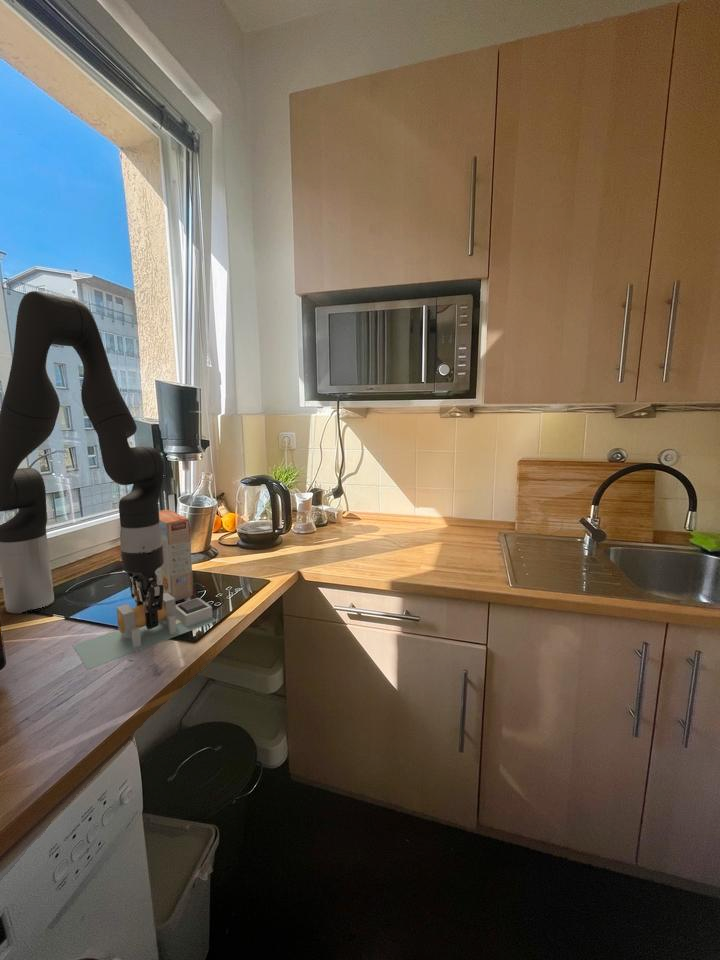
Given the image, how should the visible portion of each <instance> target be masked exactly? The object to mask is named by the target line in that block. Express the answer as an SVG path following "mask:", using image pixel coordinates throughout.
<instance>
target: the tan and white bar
mask: <svg viewBox="0 0 720 960" xmlns="http://www.w3.org/2000/svg"><path fill="white" fill-rule="evenodd" d="M153 605H154V604H153ZM176 605H177V604H176V601H175V598H174V597H172V596H171V595H170V594H168V593H167V592H166V593H163V605H162V609H161V610H157V612H158V621H161V620H163V621H165V622H166V623H167V624H168V617H169V616H172V615H174V616H175V618H176ZM115 609H116V615H117V616H116V617H117V618H116V619H117V628H118V629H117V630H119V631H120V632H121V633H122V635H123V636H124V637H125V638H128V637H130V636H132V630H131V629H134V628H137V627H138V628H141V627H144V626H146V618H145V611H144V604H142V605H139V606H137V605H136V606H132V607H131V606H130V605H129V604H127V603H125V604H124V605H119V606H116V608H115Z"/></svg>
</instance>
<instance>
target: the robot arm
mask: <svg viewBox="0 0 720 960" xmlns="http://www.w3.org/2000/svg"><path fill="white" fill-rule="evenodd" d="M15 323H16V324H15V331H14V332H15V333H14V334H15V335H14V343H13V351H12V352H13V353H12V360H11V364H10V365H11V366H10V371H9V375H8V376H9V377H8V380H7V384H6V389H5V392H4V395H3V399H2V404H1V407H0V408H1V409H0V512H9V511H15V510H18V511H17V513H16V514H15V515H14V516H13V517H12V518H10V519H9V520H7V521H5V522H3V523H2V524H0V576H1V584H2V590H3V599H4V605H5V606H4V607H5V611H6V612H7V613H9V614H23V613H22V612H25V611H27V610H30V609H37V608H41V609H43V608H42V607H44V608H46V607H48V606H49V605H51V604H52V603H54V602H55V594H54V587H53V585H54V584H53V577H52V575H53V574H52V569H51V568H52V567H51V560H50V553H49V552H50V551H49V544H48V536H47V534H48V533H47V523H48V514H47V513H48V512H47V494H46V485H45V481H44V478H43V476H42V474H41V472H39V470H37V469H36V468H34V467H22V468H19V466H20V465H21V464H22V462H23V461H24V460H25V459H26V458H27V457H28V456H29V455H31V454H32V453H33V452H34V451H36V450H37V449H38V448H39V447H40V446H41V445H43V444H44V442H45V441H47V439H48V438H49V437H50V436H51V434H53V431H54V428H55V426H56V424H57V423H56V422H57V420H58V415H59V413H60V406H61V404H60V403H61V402H60V399H59V395H58V392H57V391H56V388H55V387H54V385H53V383H52V381H51V379H50V377H49V375H48V372H47V360H48V359H47V358H48V353H49V350H50V348H51V346H52V345H54V346H64V347H72V348H73V349H74V350H75V352H76V354H77V355H78V357H79V358H80V359H79V360H81V363H82V367H83V378H82V384H81V393H80V395H81V396H80V397H81V402H82V406H83V409H84V411H85V414H86V416H87V417H88V419H89V421H90V423H91V425H92V427H93V429H94V431H95V432H96V435H97V438H98V443H99V450H100V453H101V454H100V455H101V460H102V465H103V469H104V471H105V473H106V475H107V477H109V478H110V479H111V481H113V482H114V483H116V484H118V485H120V486H130V485H132V488H131V491H130V492H128V494H125V495H124V496H122V497H121V498H120V499H119V502H118V514H119V524H120V528H119V529H120V532H119V542H120V554H121V565H122V570H123V571H124V572H125V573H126V574H127V576H128V577H127V578H128V583H129V588H130V594H131V595H130V596H131V598H132V599H134V600H133V602H134V603H135V605H136V606H139V605H142V604H144V611H145V618H146V628H147V629H152V628H154V627H157V626H158V612H157V610H161V609H162V605H163V590H164V587H163V585H158V582H159V581H158V576H157V575H156V573H155V571H156V570H157V569H158V568H160V567H161V566H162V565H163V563H164V559H163V544H162V532H161V527H160V522H159V521H160V520H159V511H160V509H159V501H160V496H161V493H162V486H163V482H164V476H165V463H164V459H163V457H162V455H161V453H160V452H159V451H158V449H156V448H155V447H152V446H149V445H143V446H134V447H130V444H129V440H128V439H129V438H131V437H132V436H134V435H135V434H136V432H137V424H136V421H135V418H134V417H133V415H132V413H131V411H130V410H129V408H128V406H127V404H126V401H125V399H124V398H123V396H122V394H121V392H120V389H119V387H118V386H117V382H116V380H115V378H114V375H113V371H112V368H111V365H110V362H109V359H108V356H107V352H106V349H105V345H104V343H103V340H102V337H101V333H100V330H99V328H98V325H97V322H96V320H95V317H94V315H93V313H92V312H91V310H90V308H89V307H88V306H87V305H86V304H85V303H84V302H83V301H81V300H78V299H76V298H74V297H73V298H72V297H68V296H63V295H59V294H58V295H57V294H53V293H48V292H44V291H40V290H39V291H37V290H32V291H28V292H27V293H25V294H24V295H23V296H22V298H21V300H20V303H19V306H18V311H17V314H16V322H15ZM153 604H154V605H153ZM45 606H46V607H45Z"/></svg>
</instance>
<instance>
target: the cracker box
mask: <svg viewBox="0 0 720 960" xmlns="http://www.w3.org/2000/svg"><path fill="white" fill-rule="evenodd" d="M159 520H160V521H159V522H160V527H161V532H162V544H163V559H164V563H163V565H162V566H161V567H160V568H158V569H157V570H156V571H155V573H156V575H157V576H158V581H159V582H158V585H163V587H164V590H163V593H166V592H167V593H168V594H170V595H171V596H172V597H174V598H175V602H177V601H180V600H181V601H182V600H184V599H188V598H191V597H193V596H194V584H193V582H194V581H193V564H192V542H191V525H190V523H191V522H190V521H191V520H190V519H189V518H187V517H186V516H183V515H180V514H179V513H176V512H174V511H172V510H170V509H162V510H159Z"/></svg>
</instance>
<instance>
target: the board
mask: <svg viewBox="0 0 720 960" xmlns="http://www.w3.org/2000/svg"><path fill="white" fill-rule="evenodd" d="M194 599H198V600H200V601H201V602H202V603H204V604H205V608H203V609H201V610H198V611H195V612H192V613H189V614H186V613H185V612H184V611H183V610H181V609H180V604H182V603H185V602H188V601H191V600H194ZM175 605H176V618H175V616H174V615H172V616H169V617H168V624H167V623H166V622H165V621H163V620H161V621H158V626H157V627H154V628H152V629H147V628H146V626H144V627H141V628H138V627H137V628H134V629H131V630H132V636H130V637H128V638H125V637H124V636H123V635H122V633H121V632H120V631H119V630H118V629H117V630H114V631H111V632H108V633H105V634H102V635H99V636H96V637H92V638H90V639H88V640H84V641H81V642H78V643H75V644H72V648H73V649H74V651H75V652H76V655H77V656H78V657H79V659H80V661H81V662H82V664H83V665H84V667H85V668H86V670H90V669H93V668H95V667H98V666H101V665H103V664H107V663H109V662H111V661H115V660H116V659H120V658H123V657H125V656H127V655H130V654H132V653H133V654H134V653H135V652H139V651H140V650H144V649H146V648H149V647H152V646H154V645H156V644H159V643H162V642H164V641H167V640H169V639H173V638H174V637H178V636H180V635H183V634H185V633H188V632H191V631H194V630H196V629H199V628H201V627H204V626H207V625H209V624H211V623H212V624H213V623H215V622H217V621H218V620H217V619H216V618H214V616H213V607H212V605H210V604H209V603H207V602H206V601H204V600H203V599H202V598H200V597H196V598H192V599H190V600H186V601H183V602H181V603H177V604H175Z"/></svg>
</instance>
